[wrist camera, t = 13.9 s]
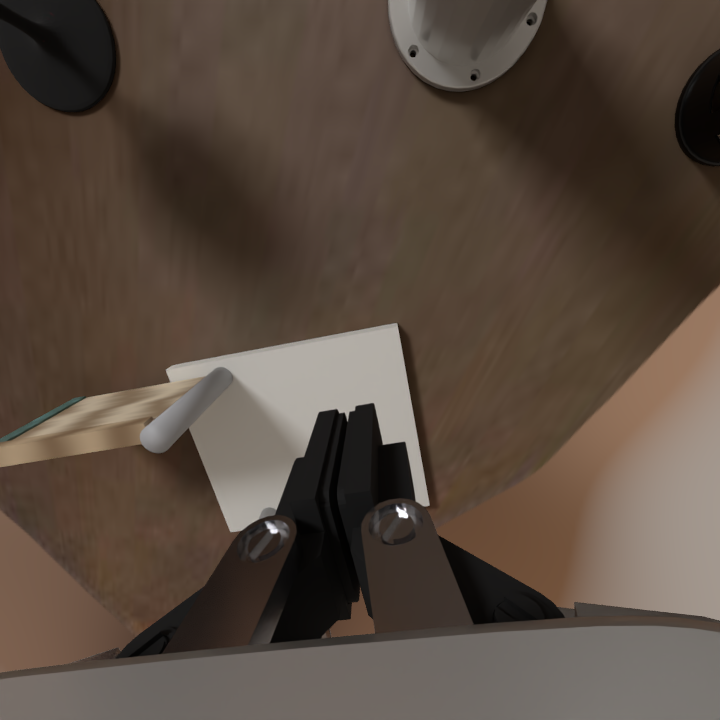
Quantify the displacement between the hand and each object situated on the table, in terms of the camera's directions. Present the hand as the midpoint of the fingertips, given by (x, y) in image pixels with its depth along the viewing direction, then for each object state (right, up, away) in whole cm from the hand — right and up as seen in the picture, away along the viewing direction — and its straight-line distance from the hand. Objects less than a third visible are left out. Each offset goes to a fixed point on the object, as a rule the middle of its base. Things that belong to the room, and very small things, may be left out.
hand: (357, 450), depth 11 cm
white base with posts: (-6, -6, +33) cm, 35 cm away
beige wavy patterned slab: (-25, -1, +30) cm, 39 cm away
